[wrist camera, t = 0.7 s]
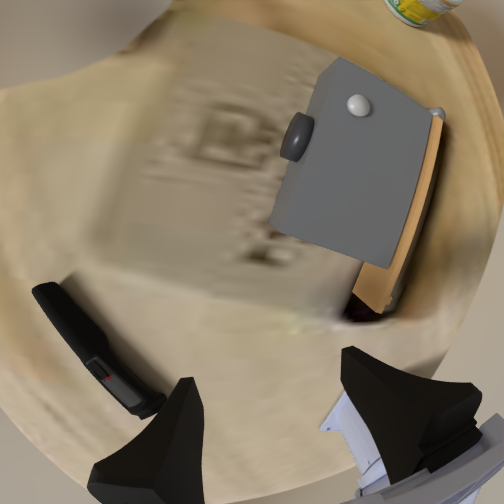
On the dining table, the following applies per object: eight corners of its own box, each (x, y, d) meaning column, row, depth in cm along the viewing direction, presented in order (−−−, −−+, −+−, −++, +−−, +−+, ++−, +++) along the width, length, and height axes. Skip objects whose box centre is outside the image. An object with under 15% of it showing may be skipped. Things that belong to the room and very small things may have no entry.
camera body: (402, 121, 19) (436, 113, 15) (361, 255, 21) (391, 272, 17) (306, 70, 17) (328, 46, 13) (255, 218, 20) (265, 228, 15)
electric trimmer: (63, 265, 19) (43, 276, 16) (173, 398, 23) (168, 421, 20) (40, 286, 19) (21, 299, 16) (145, 410, 23) (139, 432, 20)
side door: (418, 120, 19) (448, 113, 15) (362, 294, 22) (386, 314, 18) (407, 112, 19) (437, 104, 15) (350, 291, 22) (373, 311, 18)
